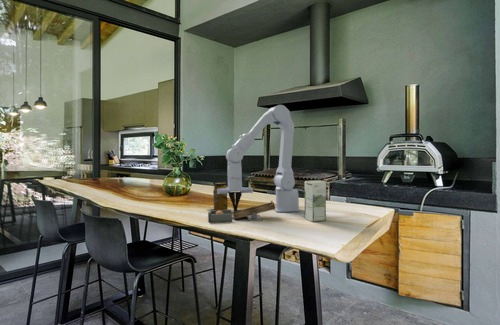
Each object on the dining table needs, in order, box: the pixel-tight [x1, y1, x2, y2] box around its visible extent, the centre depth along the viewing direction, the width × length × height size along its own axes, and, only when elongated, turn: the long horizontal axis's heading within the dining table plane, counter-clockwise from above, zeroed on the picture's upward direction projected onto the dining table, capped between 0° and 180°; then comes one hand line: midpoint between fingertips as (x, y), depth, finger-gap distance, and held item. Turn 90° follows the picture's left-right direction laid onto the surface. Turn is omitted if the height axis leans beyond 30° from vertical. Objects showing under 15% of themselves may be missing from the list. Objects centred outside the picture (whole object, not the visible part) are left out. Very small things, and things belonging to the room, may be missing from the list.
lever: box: [232, 200, 276, 220], centre depth 125 cm, size 16×12×2 cm
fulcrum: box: [246, 212, 263, 221], centre depth 122 cm, size 5×8×3 cm, turn 4°
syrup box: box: [304, 179, 327, 223], centre depth 116 cm, size 6×6×14 cm
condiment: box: [206, 181, 230, 212], centre depth 138 cm, size 7×8×12 cm
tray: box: [207, 208, 232, 223], centre depth 121 cm, size 8×8×4 cm
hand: (235, 210), depth 130 cm, fingers closed
